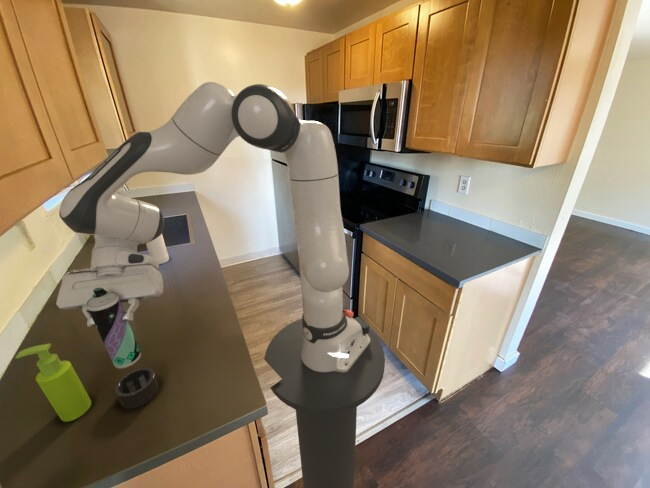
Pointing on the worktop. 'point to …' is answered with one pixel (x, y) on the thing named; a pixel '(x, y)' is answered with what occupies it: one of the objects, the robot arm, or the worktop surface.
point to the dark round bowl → (136, 388)
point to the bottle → (158, 250)
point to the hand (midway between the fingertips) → (110, 323)
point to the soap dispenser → (59, 383)
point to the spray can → (113, 328)
